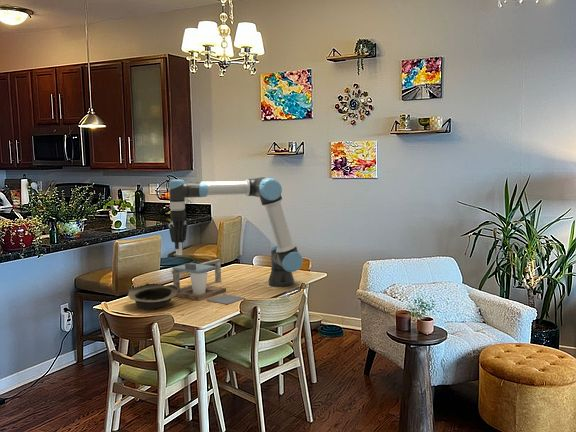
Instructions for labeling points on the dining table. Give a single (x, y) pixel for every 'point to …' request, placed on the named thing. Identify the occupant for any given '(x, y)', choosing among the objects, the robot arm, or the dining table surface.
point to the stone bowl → (152, 295)
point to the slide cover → (194, 268)
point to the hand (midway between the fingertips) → (179, 254)
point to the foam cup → (198, 282)
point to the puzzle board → (210, 290)
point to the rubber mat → (225, 299)
